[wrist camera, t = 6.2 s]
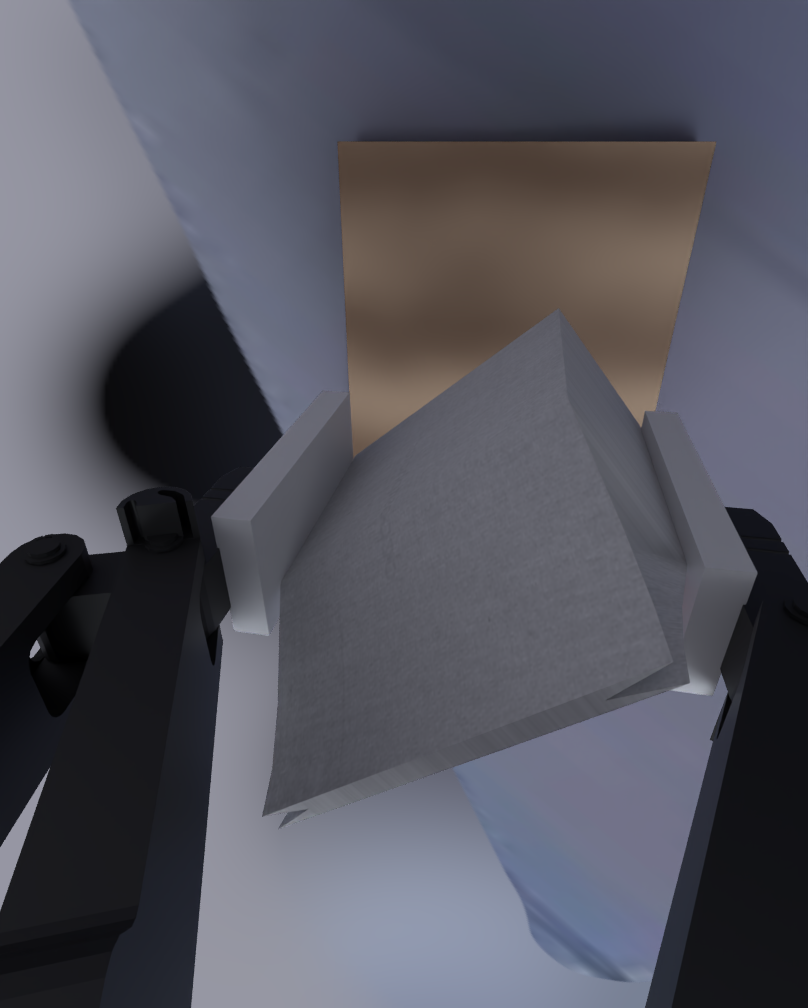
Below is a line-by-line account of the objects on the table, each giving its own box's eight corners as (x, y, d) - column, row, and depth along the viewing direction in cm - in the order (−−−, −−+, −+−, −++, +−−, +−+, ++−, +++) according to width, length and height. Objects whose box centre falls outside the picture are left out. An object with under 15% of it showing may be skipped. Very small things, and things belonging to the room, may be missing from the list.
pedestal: (356, 142, 26) (337, 141, 24) (697, 142, 24) (716, 141, 21) (366, 436, 33) (352, 460, 31) (630, 458, 31) (638, 485, 29)
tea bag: (355, 455, 17) (180, 749, 9) (558, 307, 14) (583, 547, 6) (434, 544, 18) (344, 883, 10) (640, 426, 15) (759, 772, 7)
